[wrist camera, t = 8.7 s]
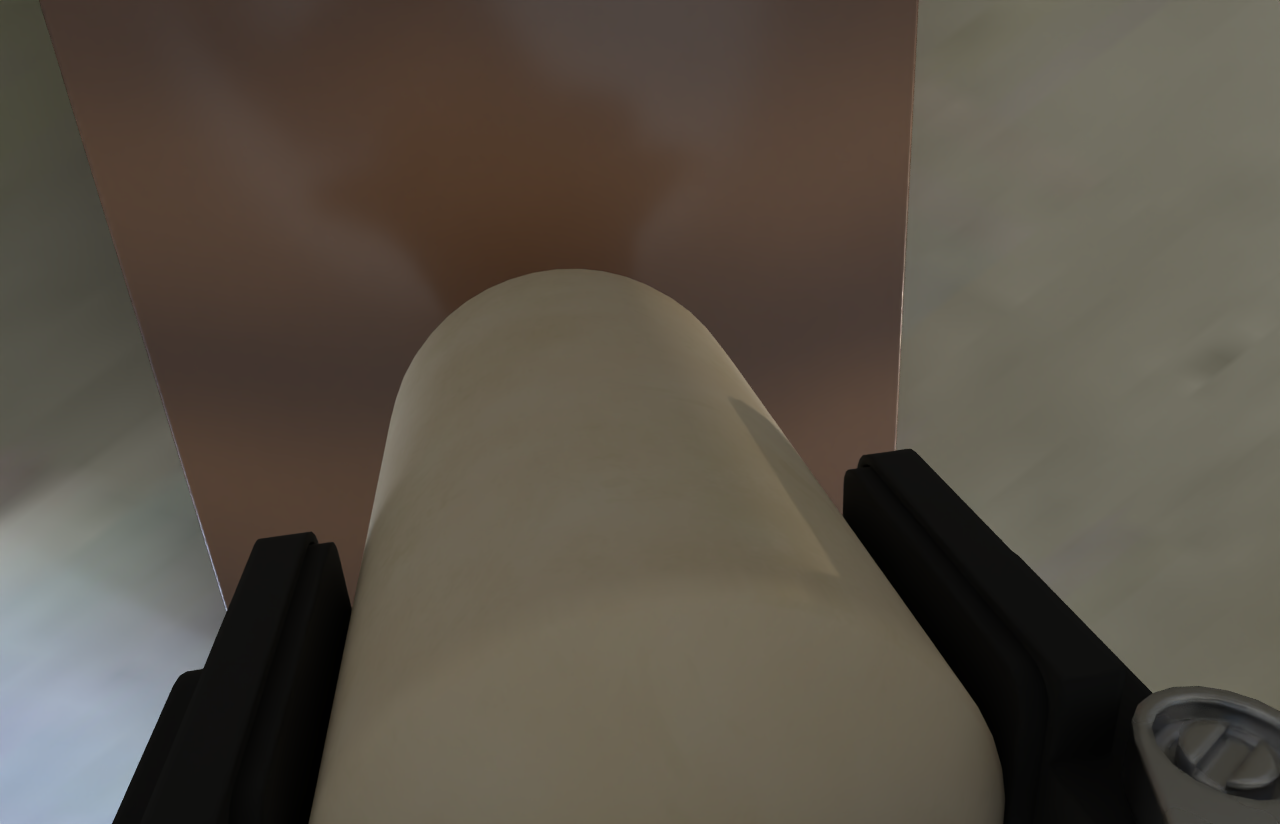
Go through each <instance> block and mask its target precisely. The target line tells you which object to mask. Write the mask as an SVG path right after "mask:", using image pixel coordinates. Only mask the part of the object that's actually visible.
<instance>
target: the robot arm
mask: <svg viewBox="0 0 1280 824" xmlns="http://www.w3.org/2000/svg"><path fill="white" fill-rule="evenodd" d="M843 518H844V519H845V520H846V522H847V523H848V525H849V526H850V527H851V529H852V530H853V532H854V533H855V534H856V536H857V537H858V539H859V540H860V541H861V543H862V544H863V546H864V547H865V548H866V550H867V551H868V553H869V554H870V555H871V557H872V558H873V560H874V561H875V562H876V564H877V565H878V567H879V568H880V570H881V571H882V572H883V574H884V575H885V577H886V578H887V579H888V581H889V582H890V584H891V585H892V586H893V588H894V589H895V591H896V592H897V593H898V595H899V596H900V598H901V599H902V600H903V602H904V603H905V605H906V606H907V607H908V609H909V610H910V612H911V613H912V614H913V616H914V617H915V619H916V620H917V621H918V623H919V624H920V626H921V627H922V629H923V630H924V631H925V633H926V634H927V636H928V637H929V638H930V640H931V641H932V643H933V644H934V645H935V647H936V648H937V650H938V651H939V652H940V654H941V655H942V657H943V658H944V659H945V661H946V662H947V664H948V665H949V667H950V668H951V669H952V671H953V672H954V674H955V675H956V676H957V678H958V679H959V681H960V682H961V683H962V685H963V686H964V688H965V689H966V691H967V692H968V693H969V695H970V696H971V698H972V699H973V701H974V702H975V704H976V705H977V706H978V708H979V710H980V712H981V714H982V716H983V718H984V720H985V722H986V724H987V726H988V728H989V730H990V732H991V734H992V736H993V738H994V742H995V745H996V749H997V752H998V756H999V759H1000V763H1001V766H1002V772H1003V782H1004V792H1005V809H1004V821H1003V824H1280V711H1278V710H1276V709H1274V708H1272V707H1270V706H1268V705H1267V704H1265V703H1263V702H1261V701H1259V700H1256V699H1253V698H1249V697H1246V696H1243V695H1240V694H1237V693H1234V692H1231V691H1227V690H1221V689H1214V688H1208V687H1201V686H1190V687H1172V688H1168V689H1165V690H1162V691H1158V692H1155V693H1152V692H1151V691H1150V690H1149V689H1148V688H1147V687H1146V686H1145V685H1144V684H1143V683H1142V682H1141V681H1140V680H1139V679H1138V678H1137V677H1136V676H1135V675H1134V674H1133V673H1132V672H1131V671H1130V670H1129V669H1128V667H1127V666H1126V665H1125V664H1124V663H1123V662H1122V661H1121V660H1120V659H1119V658H1118V657H1117V656H1116V655H1115V654H1114V653H1113V652H1112V651H1111V650H1110V649H1109V648H1108V647H1107V646H1106V645H1105V644H1104V643H1103V642H1102V641H1101V640H1100V639H1099V638H1098V637H1097V636H1096V635H1095V634H1094V633H1093V632H1092V631H1091V630H1090V629H1089V628H1088V627H1087V625H1086V624H1085V623H1084V622H1083V621H1082V620H1081V619H1080V618H1079V617H1078V616H1077V615H1076V614H1075V613H1074V612H1073V611H1072V610H1071V609H1070V608H1069V607H1068V606H1067V605H1066V604H1065V603H1064V602H1063V601H1062V600H1061V599H1060V598H1059V597H1058V596H1057V595H1056V594H1055V593H1054V592H1053V591H1052V590H1051V589H1050V588H1049V587H1048V586H1047V584H1046V583H1045V582H1044V581H1043V580H1042V579H1041V578H1040V577H1039V576H1038V575H1037V574H1036V573H1035V572H1034V571H1033V570H1032V569H1031V568H1030V567H1029V566H1028V565H1027V564H1026V563H1025V562H1024V561H1023V560H1022V559H1021V558H1020V557H1019V556H1018V555H1017V554H1015V553H1014V552H1013V551H1011V550H1010V549H1009V547H1008V546H1007V545H1006V544H1005V543H1004V542H1003V541H1002V540H1001V539H1000V538H999V537H998V536H997V535H996V534H995V533H994V532H993V531H992V530H991V529H990V528H989V527H988V526H987V525H986V524H985V523H984V522H983V521H982V520H981V519H980V518H979V517H978V516H977V515H976V514H975V513H974V511H973V510H972V509H971V508H970V507H969V506H968V505H967V504H966V503H965V502H964V501H963V500H962V499H961V498H960V497H959V496H958V495H957V494H956V493H955V492H954V491H953V490H952V489H951V488H950V487H949V486H948V485H947V484H946V483H945V482H944V481H943V480H942V479H941V478H940V477H939V475H938V474H937V473H936V472H935V471H934V470H933V469H932V468H931V467H930V466H929V465H928V464H927V463H926V462H925V461H924V460H923V459H922V458H921V457H920V456H919V455H918V454H917V453H916V452H915V451H913V450H912V449H904V450H896V451H889V452H882V453H875V454H867V455H863V456H862V457H861V458H860V459H859V462H858V466H857V468H856V469H849V470H847V471H846V473H845V476H844V483H843ZM351 612H352V607H351V603H350V599H349V595H348V590H347V586H346V582H345V578H344V574H343V569H342V565H341V561H340V557H339V553H338V550H337V547H336V545H335V543H334V542H327V543H320V544H319V542H318V540H317V538H316V536H315V534H314V533H313V532H312V531H311V532H304V533H296V534H289V535H282V536H275V537H268V538H261V539H257V541H256V542H255V544H254V546H253V549H252V551H251V554H250V556H249V558H248V561H247V563H246V566H245V568H244V571H243V573H242V576H241V578H240V580H239V583H238V585H237V588H236V590H235V593H234V595H233V598H232V600H231V602H230V605H229V607H228V610H227V612H226V615H225V617H224V620H223V622H222V624H221V627H220V629H219V632H218V634H217V637H216V639H215V642H214V644H213V646H212V649H211V651H210V654H209V656H208V659H207V661H206V664H205V666H204V668H203V669H200V670H194V671H187V672H185V673H184V674H182V675H180V676H179V678H178V679H177V681H176V682H175V684H174V686H173V687H172V690H171V692H170V694H169V696H168V699H167V701H166V703H165V705H164V708H163V710H162V712H161V715H160V717H159V719H158V721H157V724H156V726H155V728H154V730H153V733H152V735H151V737H150V739H149V742H148V744H147V746H146V748H145V751H144V753H143V755H142V757H141V760H140V762H139V764H138V766H137V769H136V771H135V773H134V775H133V778H132V780H131V782H130V784H129V787H128V789H127V791H126V794H125V796H124V798H123V800H122V803H121V805H120V807H119V809H118V812H117V814H116V816H115V818H114V821H113V823H112V824H309V819H310V814H311V809H312V804H313V799H314V794H315V789H316V784H317V779H318V774H319V769H320V764H321V760H322V755H323V750H324V745H325V740H326V735H327V730H328V725H329V720H330V715H331V710H332V705H333V701H334V696H335V691H336V686H337V681H338V676H339V671H340V666H341V661H342V656H343V651H344V647H345V642H346V637H347V632H348V627H349V622H350V617H351Z"/></svg>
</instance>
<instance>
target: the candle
mask: <svg viewBox="0 0 1280 824" xmlns="http://www.w3.org/2000/svg"><path fill="white" fill-rule="evenodd" d="M1004 809H1005V792H1004V782H1003V772H1002V766H1001V763H1000V759H999V756H998V752H997V749H996V745H995V742H994V738H993V736H992V734H991V732H990V730H989V728H988V726H987V724H986V722H985V720H984V718H983V716H982V714H981V712H980V710H979V708H978V706H977V705H976V704H975V702H974V701H973V699H972V698H971V696H970V695H969V693H968V692H967V691H966V689H965V688H964V686H963V685H962V683H961V682H960V681H959V679H958V678H957V676H956V675H955V674H954V672H953V671H952V669H951V668H950V667H949V665H948V664H947V662H946V661H945V659H944V658H943V657H942V655H941V654H940V652H939V651H938V650H937V648H936V647H935V645H934V644H933V643H932V641H931V640H930V638H929V637H928V636H927V634H926V633H925V631H924V630H923V629H922V627H921V626H920V624H919V623H918V621H917V620H916V619H915V617H914V616H913V614H912V613H911V612H910V610H909V609H908V607H907V606H906V605H905V603H904V602H903V600H902V599H901V598H900V596H899V595H898V593H897V592H896V591H895V589H894V588H893V586H892V585H891V584H890V582H889V581H888V579H887V578H886V577H885V575H884V574H883V572H882V571H881V570H880V568H879V567H878V565H877V564H876V562H875V561H874V560H873V558H872V557H871V555H870V554H869V553H868V551H867V550H866V548H865V547H864V546H863V544H862V543H861V541H860V540H859V539H858V537H857V536H856V534H855V533H854V532H853V530H852V529H851V527H850V526H849V525H848V523H847V522H846V520H845V519H844V518H843V516H842V515H841V513H840V512H839V511H838V509H837V508H836V506H835V505H834V504H833V502H832V501H831V499H830V498H829V496H828V495H827V494H826V492H825V491H824V489H823V488H822V487H821V485H820V484H819V482H818V481H817V480H816V478H815V477H814V475H813V474H812V473H811V471H810V470H809V468H808V467H807V466H806V464H805V463H804V461H803V460H802V459H801V457H800V456H799V454H798V453H797V452H796V450H795V449H794V447H793V446H792V445H791V443H790V442H789V440H788V439H787V438H786V436H785V435H784V433H783V432H782V430H781V429H780V428H779V426H778V425H777V423H776V422H775V421H774V419H773V418H772V416H771V415H770V414H769V412H768V411H767V409H766V408H765V407H764V405H763V404H762V402H761V401H760V400H759V398H758V397H757V395H756V394H755V393H754V391H753V390H752V388H751V387H750V386H749V384H748V383H747V381H746V380H745V379H744V377H743V376H742V374H741V373H740V372H739V370H738V369H737V367H736V366H735V364H734V363H733V362H732V360H731V359H730V358H729V356H728V355H727V354H726V352H725V351H724V350H723V348H722V347H721V346H720V345H719V343H718V342H717V341H716V339H715V338H714V337H713V336H712V334H711V333H710V332H709V331H708V329H707V328H706V327H705V326H704V325H703V324H702V323H701V322H700V321H699V320H698V319H697V318H696V317H695V316H694V315H693V314H692V313H691V312H690V311H688V310H687V309H686V308H684V307H683V306H682V305H680V304H679V303H677V302H676V301H675V300H673V299H672V298H670V297H668V296H667V295H665V294H663V293H661V292H659V291H657V290H656V289H654V288H652V287H650V286H648V285H646V284H643V283H641V282H638V281H636V280H633V279H631V278H628V277H625V276H621V275H617V274H613V273H608V272H604V271H596V270H587V269H555V270H549V271H542V272H535V273H531V274H527V275H524V276H520V277H517V278H513V279H510V280H507V281H505V282H503V283H500V284H498V285H496V286H493V287H491V288H489V289H487V290H485V291H483V292H482V293H480V294H478V295H477V296H475V297H473V298H471V299H470V300H468V301H467V302H465V303H464V304H463V305H462V306H460V307H459V308H458V309H456V310H455V311H454V312H453V313H451V314H450V315H449V316H448V317H447V318H446V319H445V320H444V321H443V322H442V323H441V324H440V325H439V326H438V327H437V328H436V329H435V330H434V331H433V332H432V334H431V335H430V336H429V337H428V339H427V340H426V342H425V343H424V344H423V346H422V347H421V348H420V350H419V351H418V352H417V354H416V355H415V357H414V359H413V361H412V362H411V364H410V366H409V368H408V370H407V372H406V374H405V376H404V378H403V381H402V383H401V386H400V389H399V392H398V394H397V397H396V401H395V405H394V409H393V413H392V416H391V421H390V426H389V430H388V435H387V440H386V445H385V450H384V455H383V460H382V465H381V470H380V475H379V480H378V484H377V489H376V494H375V499H374V504H373V509H372V514H371V519H370V524H369V529H368V534H367V538H366V543H365V548H364V553H363V558H362V563H361V568H360V573H359V578H358V583H357V588H356V592H355V597H354V602H353V607H352V612H351V617H350V622H349V627H348V632H347V637H346V642H345V647H344V651H343V656H342V661H341V666H340V671H339V676H338V681H337V686H336V691H335V696H334V701H333V705H332V710H331V715H330V720H329V725H328V730H327V735H326V740H325V745H324V750H323V755H322V760H321V764H320V769H319V774H318V779H317V784H316V789H315V794H314V799H313V804H312V809H311V814H310V819H309V824H1003V821H1004Z"/></svg>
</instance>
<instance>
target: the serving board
mask: <svg viewBox="0 0 1280 824" xmlns="http://www.w3.org/2000/svg"><path fill="white" fill-rule="evenodd" d="M39 2H40V5H41V8H42V12H43V15H44V18H45V21H46V25H47V28H48V31H49V35H50V38H51V41H52V44H53V48H54V51H55V54H56V57H57V61H58V64H59V67H60V70H61V74H62V77H63V80H64V84H65V87H66V90H67V93H68V97H69V100H70V103H71V106H72V110H73V113H74V116H75V119H76V123H77V126H78V129H79V132H80V136H81V139H82V142H83V146H84V149H85V152H86V155H87V159H88V162H89V165H90V168H91V172H92V175H93V178H94V181H95V185H96V188H97V191H98V195H99V198H100V201H101V204H102V208H103V211H104V214H105V217H106V221H107V224H108V227H109V230H110V234H111V237H112V240H113V243H114V247H115V250H116V253H117V257H118V260H119V263H120V266H121V270H122V273H123V276H124V279H125V283H126V286H127V289H128V292H129V296H130V299H131V302H132V306H133V309H134V312H135V315H136V319H137V322H138V325H139V328H140V332H141V335H142V338H143V341H144V345H145V348H146V351H147V354H148V358H149V361H150V364H151V368H152V371H153V374H154V377H155V381H156V384H157V387H158V390H159V394H160V397H161V400H162V403H163V407H164V410H165V413H166V417H167V420H168V423H169V426H170V430H171V433H172V436H173V439H174V443H175V446H176V449H177V452H178V456H179V459H180V462H181V466H182V469H183V472H184V475H185V479H186V482H187V485H188V488H189V492H190V495H191V498H192V501H193V505H194V508H195V511H196V514H197V518H198V521H199V524H200V528H201V531H202V534H203V537H204V541H205V544H206V547H207V550H208V554H209V557H210V560H211V563H212V567H213V570H214V573H215V577H216V580H217V583H218V586H219V590H220V593H221V596H222V599H223V603H224V606H225V609H226V612H227V610H228V607H229V605H230V602H231V600H232V598H233V595H234V593H235V590H236V588H237V585H238V583H239V580H240V578H241V576H242V573H243V571H244V568H245V566H246V563H247V561H248V558H249V556H250V554H251V551H252V549H253V546H254V544H255V542H256V541H257V539H261V538H268V537H275V536H282V535H289V534H296V533H304V532H311V531H312V532H313V533H314V534H315V536H316V538H317V540H318V542H319V544H320V543H327V542H334V543H335V545H336V547H337V550H338V553H339V557H340V561H341V565H342V569H343V574H344V578H345V582H346V586H347V590H348V595H349V599H350V603H351V607H353V602H354V597H355V592H356V588H357V583H358V578H359V573H360V568H361V563H362V558H363V553H364V548H365V543H366V538H367V534H368V529H369V524H370V519H371V514H372V509H373V504H374V499H375V494H376V489H377V484H378V480H379V475H380V470H381V465H382V460H383V455H384V450H385V445H386V440H387V435H388V430H389V426H390V421H391V416H392V413H393V409H394V405H395V401H396V397H397V394H398V392H399V389H400V386H401V383H402V381H403V378H404V376H405V374H406V372H407V370H408V368H409V366H410V364H411V362H412V361H413V359H414V357H415V355H416V354H417V352H418V351H419V350H420V348H421V347H422V346H423V344H424V343H425V342H426V340H427V339H428V337H429V336H430V335H431V334H432V332H433V331H434V330H435V329H436V328H437V327H438V326H439V325H440V324H441V323H442V322H443V321H444V320H445V319H446V318H447V317H448V316H449V315H450V314H451V313H453V312H454V311H455V310H456V309H458V308H459V307H460V306H462V305H463V304H464V303H465V302H467V301H468V300H470V299H471V298H473V297H475V296H477V295H478V294H480V293H482V292H483V291H485V290H487V289H489V288H491V287H493V286H496V285H498V284H500V283H503V282H505V281H507V280H510V279H513V278H517V277H520V276H524V275H527V274H531V273H535V272H542V271H549V270H555V269H587V270H596V271H604V272H608V273H613V274H617V275H621V276H625V277H628V278H631V279H633V280H636V281H638V282H641V283H643V284H646V285H648V286H650V287H652V288H654V289H656V290H657V291H659V292H661V293H663V294H665V295H667V296H668V297H670V298H672V299H673V300H675V301H676V302H677V303H679V304H680V305H682V306H683V307H684V308H686V309H687V310H688V311H690V312H691V313H692V314H693V315H694V316H695V317H696V318H697V319H698V320H699V321H700V322H701V323H702V324H703V325H704V326H705V327H706V328H707V329H708V331H709V332H710V333H711V334H712V336H713V337H714V338H715V339H716V341H717V342H718V343H719V345H720V346H721V347H722V348H723V350H724V351H725V352H726V354H727V355H728V356H729V358H730V359H731V360H732V362H733V363H734V364H735V366H736V367H737V369H738V370H739V372H740V373H741V374H742V376H743V377H744V379H745V380H746V381H747V383H748V384H749V386H750V387H751V388H752V390H753V391H754V393H755V394H756V395H757V397H758V398H759V400H760V401H761V402H762V404H763V405H764V407H765V408H766V409H767V411H768V412H769V414H770V415H771V416H772V418H773V419H774V421H775V422H776V423H777V425H778V426H779V428H780V429H781V430H782V432H783V433H784V435H785V436H786V438H787V439H788V440H789V442H790V443H791V445H792V446H793V447H794V449H795V450H796V452H797V453H798V454H799V456H800V457H801V459H802V460H803V461H804V463H805V464H806V466H807V467H808V468H809V470H810V471H811V473H812V474H813V475H814V477H815V478H816V480H817V481H818V482H819V484H820V485H821V487H822V488H823V489H824V491H825V492H826V494H827V495H828V496H829V498H830V499H831V501H832V502H833V504H834V505H835V506H836V508H837V509H838V511H839V512H840V513H841V515H842V516H843V483H844V476H845V473H846V471H847V470H849V469H856V468H857V466H858V462H859V459H860V458H861V457H862V456H863V455H867V454H875V453H882V452H889V451H896V440H897V420H898V400H899V380H900V360H901V340H902V320H903V300H904V280H905V260H906V241H907V221H908V201H909V181H910V161H911V141H912V121H913V101H914V81H915V61H916V41H917V22H918V2H919V0H39Z"/></svg>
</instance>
